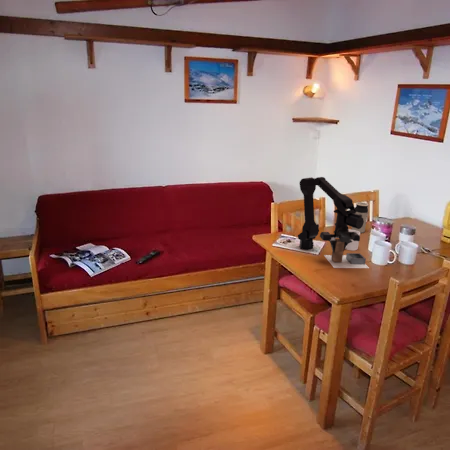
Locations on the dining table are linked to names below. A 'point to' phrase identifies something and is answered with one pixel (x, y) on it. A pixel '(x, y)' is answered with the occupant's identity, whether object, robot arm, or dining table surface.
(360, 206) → the travel mug
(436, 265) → the dining table surface
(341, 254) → the post
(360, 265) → the board
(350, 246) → the mug
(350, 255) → the block
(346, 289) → the dining table surface
